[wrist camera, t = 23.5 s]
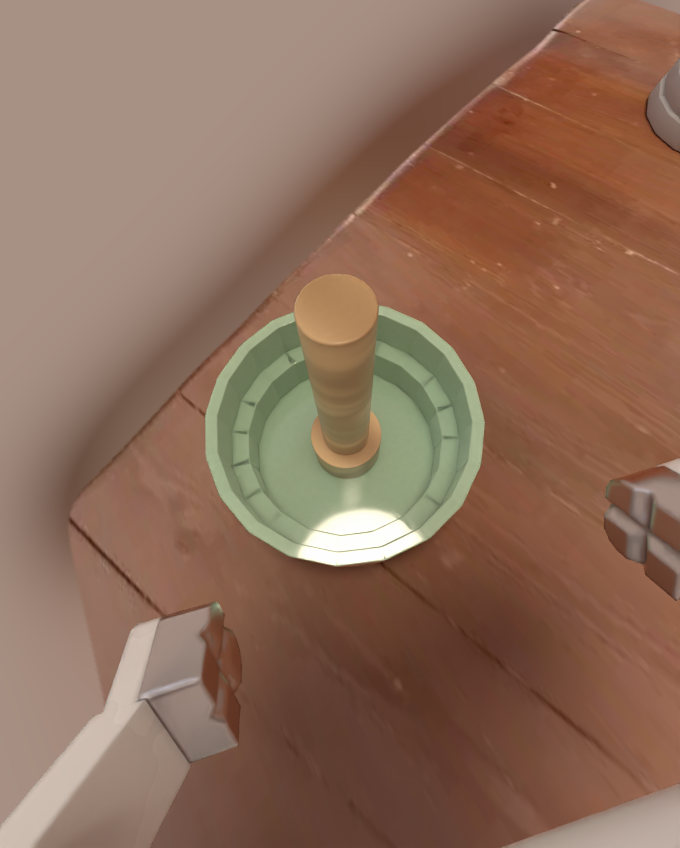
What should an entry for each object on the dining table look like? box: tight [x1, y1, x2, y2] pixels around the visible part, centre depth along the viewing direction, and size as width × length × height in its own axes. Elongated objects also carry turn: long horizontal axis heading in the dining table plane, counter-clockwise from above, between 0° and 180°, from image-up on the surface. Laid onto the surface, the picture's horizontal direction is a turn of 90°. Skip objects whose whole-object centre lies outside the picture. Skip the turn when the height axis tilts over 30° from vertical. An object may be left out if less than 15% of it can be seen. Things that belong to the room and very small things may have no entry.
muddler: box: [294, 274, 381, 479], centre depth 21 cm, size 4×4×16 cm
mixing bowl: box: [205, 306, 485, 568], centre depth 26 cm, size 15×15×6 cm
